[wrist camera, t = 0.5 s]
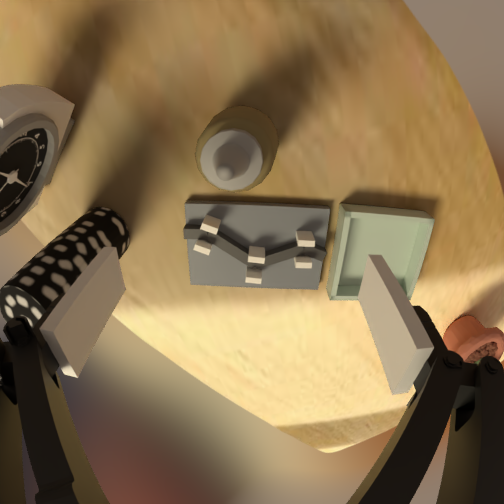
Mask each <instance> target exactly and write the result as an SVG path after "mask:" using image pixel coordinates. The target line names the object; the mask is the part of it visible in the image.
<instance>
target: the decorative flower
mask: <svg viewBox="0 0 504 504" xmlns="http://www.w3.org/2000/svg"><path fill="white" fill-rule="evenodd" d="M443 341H444V343H445V345H446V347H447V349H448V350H451V351H454V352H456V353H458V354H459V355H460V356H461V357H462V358H463V360H464V362H467V363H474V364H478V363H479V362H480V360H481V359H482V358H483V357H485V356H492V357H494V358H496V359H497V360H499V359H500V358H501V356H502V354H503V352H504V333H503V332H502V331H501V330H500V329H499V328H497V327H493V328H486V329H485V328H484V327H483V326H482V324H481V323H480V322H479V321H478V320H477V319H476V318H475V317H473V316H464V317H461V318H459V319H458V320H456V321H455V322H453V323H452V324H451V325H450V326H449V328H448V329H447V331H446V332H445V334H444V337H443Z"/></svg>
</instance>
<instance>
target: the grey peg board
mask: <svg viewBox="0 0 504 504" xmlns="http://www.w3.org/2000/svg"><path fill="white" fill-rule="evenodd" d="M329 214H330V208H329V207H328V206H320V205H303V204H284V203H262V202H233V201H186V203H185V217H186V225H185V227H184V229H183V230H184V239H187V247H188V259H189V271H190V282H191V285H209V286H229V287H251V288H278V289H314V290H318V286H319V280H320V274H321V268H322V262H323V259H324V257H325V256H326V254H327V251H326V249H325V243H326V236H327V229H328V222H329Z"/></svg>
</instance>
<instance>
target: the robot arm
mask: <svg viewBox="0 0 504 504" xmlns="http://www.w3.org/2000/svg"><path fill="white" fill-rule="evenodd" d="M125 290H126V288H125V284H124V280H123V276H122V272H121V267H120V263H119V259H118V254H117V249H116V247H103V249H102V250H101V251H100V252H99V253H98V254H97V256H96V257H95V258H94V259H93V260H92V261H91V263H90V264H89V265H88V266H87V267H86V269H85V270H84V271H83V272H82V273H81V275H80V276H79V277H78V278H77V280H76V281H75V282H74V283H73V285H72V286H71V287H70V288H69V290H68V291H67V292H66V293H62V294H61V295H59V296H58V297H57V298H55V299H54V300H53V302H52V303H51V304H50V306H49V307H48V308H47V310H46V311H45V313H44V314H43V315H42V316H41V318H40V319H39V320H38V322H37V323H36V324H35V326H34V327H33V328H32V327H31V325H30V323H29V321H28V319H27V318H26V317H25V316H17V317H14V318H12V319H10V320H9V321H8V322H7V323H6V325H5V326H4V329H3V331H4V333H5V335H6V337H7V339H8V340H9V342H2V340H1V338H0V504H26V498H25V490H24V478H23V462H22V430H23V434H24V439H25V443H26V446H27V451H28V455H29V458H30V462H31V465H32V469H33V472H34V475H35V478H36V482H37V485H38V488H39V492H38V493H37V494H35V501H36V504H110V503H109V502H108V500H107V498H106V496H105V495H104V493H103V490H102V489H101V487H100V485H99V483H98V480H97V478H96V477H95V474H94V472H93V470H92V468H91V465H90V463H89V461H88V459H87V456H86V454H85V452H84V449H83V447H82V444H81V442H80V439H79V437H78V434H77V431H76V429H75V426H74V423H73V420H72V418H71V415H70V412H69V409H68V406H67V402H66V399H65V396H64V393H63V389H62V386H61V382H60V379H59V376H58V374H57V372H56V371H57V369H58V367H59V366H60V368H61V369H62V371H63V373H64V374H66V375H69V376H74V377H77V378H78V376H79V374H80V372H81V370H82V368H83V366H84V364H85V362H86V360H87V358H88V356H89V354H90V353H91V351H92V349H93V347H94V345H95V343H96V341H97V339H98V338H99V335H100V334H101V332H102V330H103V328H104V327H105V325H106V323H107V321H108V319H109V317H110V316H111V314H112V312H113V311H114V309H115V307H116V305H117V304H118V302H119V300H120V298H121V297H122V295H123V293H124V292H125ZM358 299H359V302H360V305H361V307H362V310H363V312H364V315H365V318H366V320H367V323H368V326H369V328H370V331H371V334H372V337H373V339H374V342H375V345H376V348H377V351H378V353H379V356H380V359H381V362H382V365H383V368H384V371H385V374H386V377H387V380H388V383H389V387H390V390H391V393H392V395H394V394H401V393H408V392H409V390H410V388H411V387H412V385H413V384H414V387H415V389H416V392H415V394H414V395H413V397H412V398H411V399H410V401H409V402H408V404H407V406H408V407H407V409H406V411H405V413H404V415H403V417H402V418H401V420H400V422H399V424H398V426H397V428H396V429H395V432H394V433H393V435H392V436H391V438H390V440H389V442H388V443H387V445H386V447H385V448H384V450H383V452H382V453H381V455H380V456H379V458H378V460H377V461H376V463H375V464H374V466H373V467H372V469H371V470H370V472H369V473H368V475H367V476H366V478H365V479H364V480H363V482H362V483H361V485H360V486H359V488H358V489H357V490H356V492H355V493H354V494H353V496H352V497H351V498H350V500H349V501H348V502H347V504H409V503H410V502H411V500H412V498H413V496H414V494H415V493H416V491H417V489H418V487H419V485H420V483H421V481H422V479H423V477H424V475H425V473H426V471H427V469H428V467H429V464H430V463H431V461H432V459H433V456H434V454H435V452H436V450H437V447H438V445H439V443H440V440H441V438H442V435H443V433H444V430H445V428H446V425H447V422H448V420H449V417H450V414H451V421H450V430H449V438H448V446H447V453H446V459H445V466H444V471H443V476H442V481H441V485H440V490H439V495H438V499H437V503H436V504H504V369H503V366H502V364H501V363H500V361H499V360H497V359H496V358H494V357H492V356H485V357H483V358H482V359H481V360H480V362H479V363H478V364H474V363H467V362H464V360H463V358H462V357H461V356H460V355H459V354H458V353H456V352H454V351H451V350H448V349H447V347H446V345H445V343H444V341H443V339H442V338H441V336H440V334H439V332H438V330H437V329H436V328H435V325H434V323H433V322H432V320H431V318H430V316H429V315H428V313H427V312H426V311H425V310H424V309H423V308H422V307H420V306H412V305H411V303H410V301H409V300H408V298H407V296H406V294H405V293H404V291H403V289H402V288H401V286H400V284H399V282H398V281H397V279H396V277H395V276H394V274H393V273H392V271H391V269H390V268H389V266H388V264H387V263H386V261H385V260H384V258H383V256H382V255H372V254H368V257H367V262H366V266H365V270H364V275H363V279H362V283H361V287H360V291H359V295H358Z"/></svg>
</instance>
